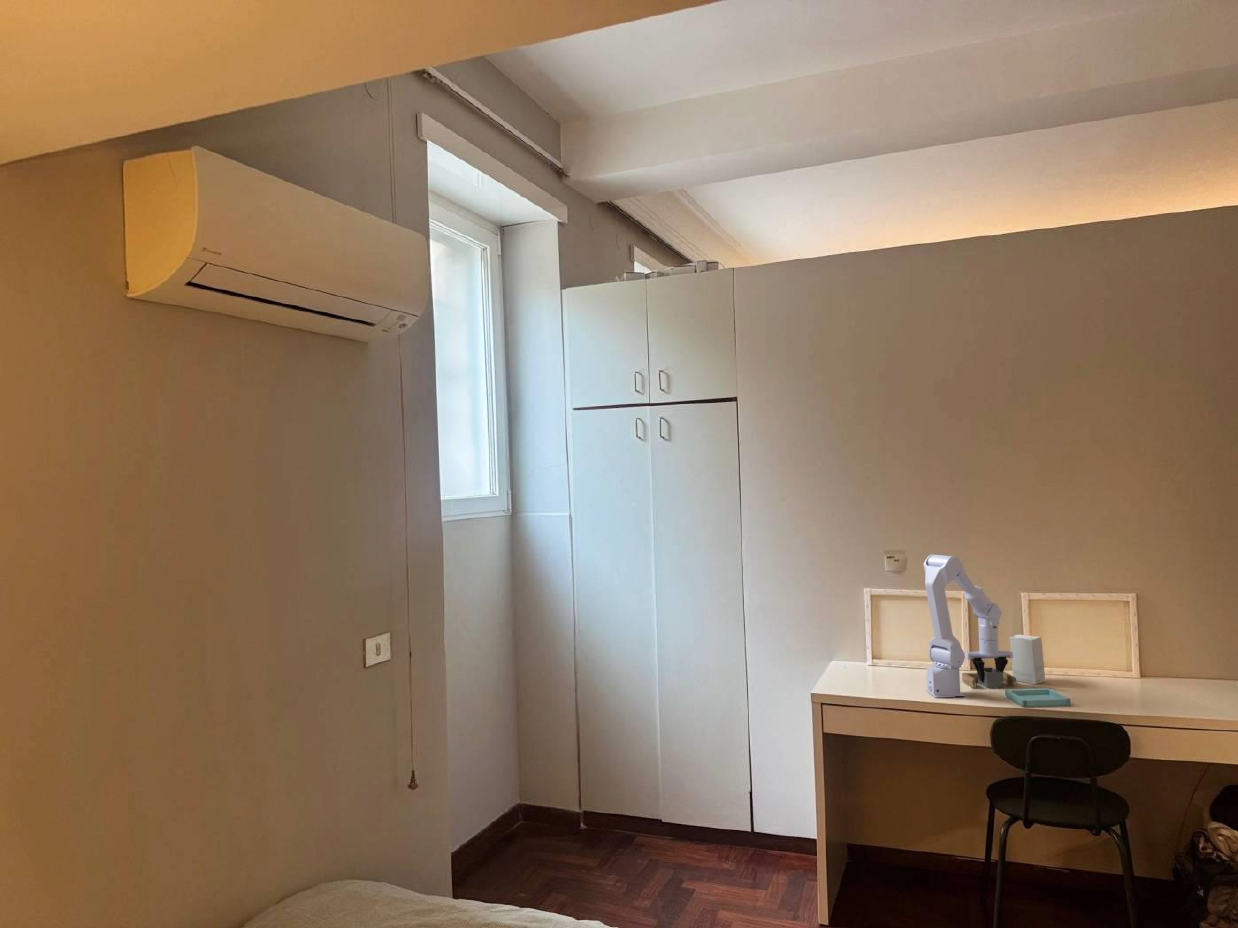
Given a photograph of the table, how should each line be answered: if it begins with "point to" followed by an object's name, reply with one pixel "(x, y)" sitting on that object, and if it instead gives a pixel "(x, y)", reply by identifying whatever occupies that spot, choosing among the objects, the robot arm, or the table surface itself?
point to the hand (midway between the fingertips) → (990, 680)
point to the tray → (1037, 697)
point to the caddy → (992, 678)
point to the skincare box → (1027, 659)
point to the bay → (973, 678)
